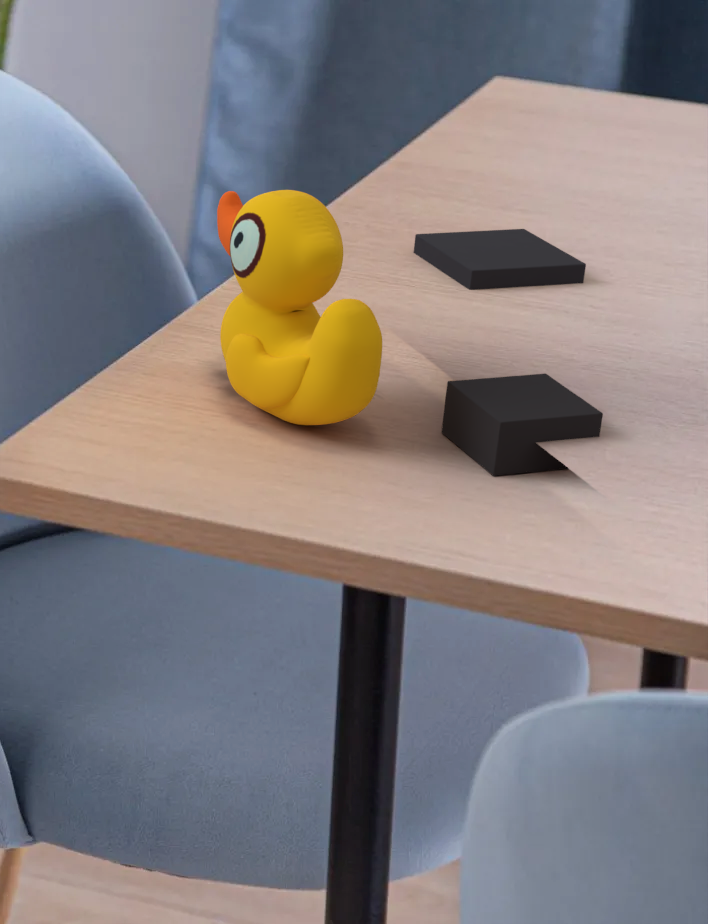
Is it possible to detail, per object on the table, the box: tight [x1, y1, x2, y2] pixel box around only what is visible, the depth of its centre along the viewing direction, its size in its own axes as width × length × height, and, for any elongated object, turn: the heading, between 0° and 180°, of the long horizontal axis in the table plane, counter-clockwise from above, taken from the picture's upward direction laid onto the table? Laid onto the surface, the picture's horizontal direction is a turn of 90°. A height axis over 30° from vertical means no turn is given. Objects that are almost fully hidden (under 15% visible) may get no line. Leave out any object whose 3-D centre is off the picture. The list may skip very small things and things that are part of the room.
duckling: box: [216, 189, 383, 426], centre depth 79 cm, size 11×5×10 cm, turn 32°
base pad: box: [413, 228, 587, 291], centre depth 99 cm, size 7×7×2 cm
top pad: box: [441, 373, 604, 477], centre depth 78 cm, size 5×5×2 cm
